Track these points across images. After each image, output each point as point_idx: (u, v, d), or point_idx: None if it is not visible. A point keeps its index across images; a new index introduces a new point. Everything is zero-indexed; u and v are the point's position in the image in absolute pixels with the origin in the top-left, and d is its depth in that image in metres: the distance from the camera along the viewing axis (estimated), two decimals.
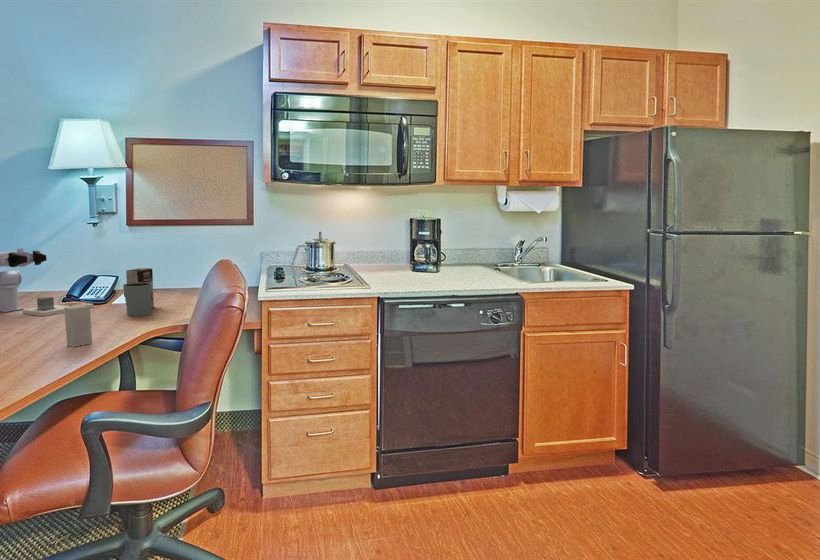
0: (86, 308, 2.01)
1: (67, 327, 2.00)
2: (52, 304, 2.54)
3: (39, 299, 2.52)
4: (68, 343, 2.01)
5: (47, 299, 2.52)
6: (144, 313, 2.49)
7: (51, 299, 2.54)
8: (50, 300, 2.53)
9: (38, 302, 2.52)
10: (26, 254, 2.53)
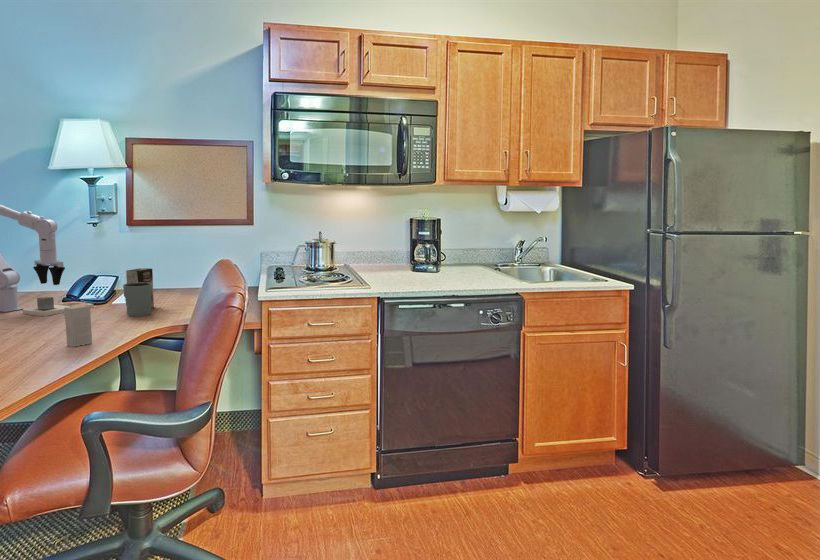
0: (86, 308, 2.01)
1: (67, 327, 2.00)
2: (52, 304, 2.54)
3: (39, 299, 2.52)
4: (68, 343, 2.01)
5: (47, 299, 2.52)
6: (144, 313, 2.49)
7: (51, 299, 2.54)
8: (50, 300, 2.53)
9: (38, 302, 2.52)
10: None
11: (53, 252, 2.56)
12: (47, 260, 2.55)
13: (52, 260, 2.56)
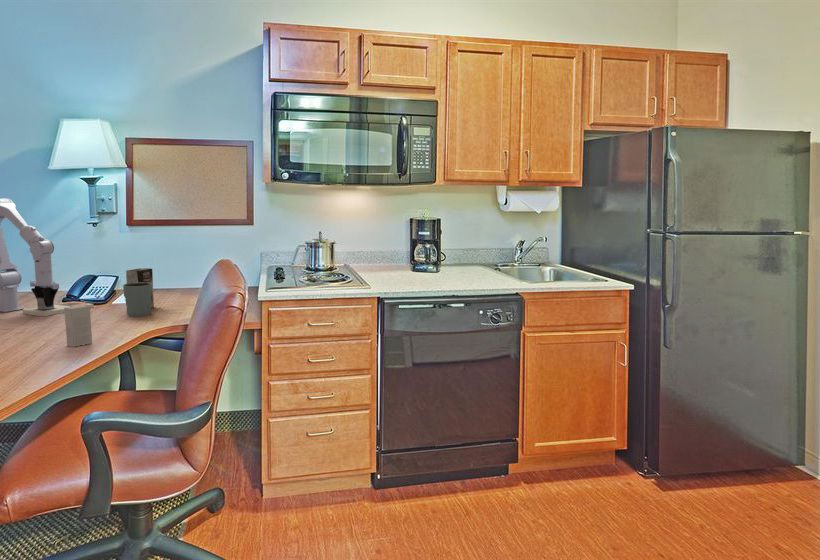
0: (86, 308, 2.01)
1: (67, 327, 2.00)
2: None
3: (39, 299, 2.52)
4: (68, 343, 2.01)
5: None
6: (144, 313, 2.49)
7: None
8: None
9: (38, 302, 2.52)
10: None
11: (49, 274, 2.51)
12: (42, 282, 2.50)
13: (48, 282, 2.51)
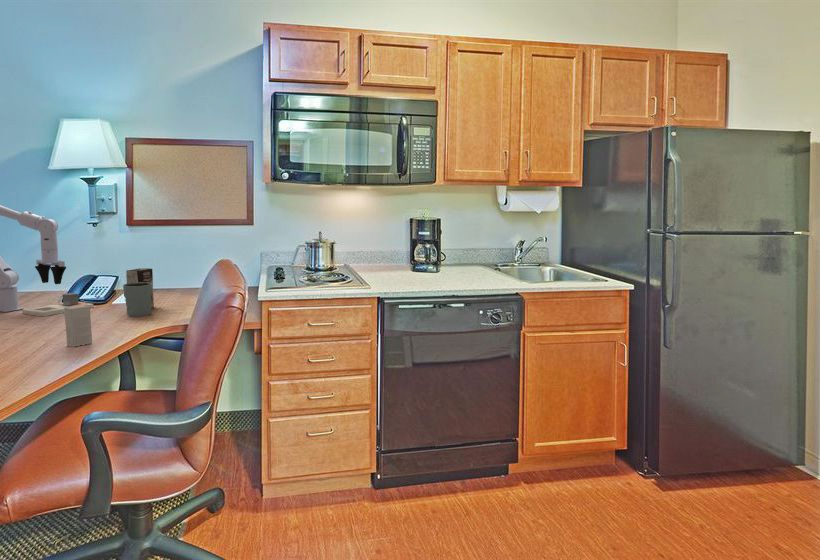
0: (86, 308, 2.01)
1: (67, 327, 2.00)
2: (77, 300, 2.64)
3: (64, 295, 2.61)
4: (68, 343, 2.01)
5: (72, 295, 2.62)
6: (144, 313, 2.49)
7: (76, 295, 2.63)
8: (75, 296, 2.63)
9: (63, 298, 2.62)
10: None
11: (54, 252, 2.58)
12: (48, 259, 2.57)
13: (53, 259, 2.58)
